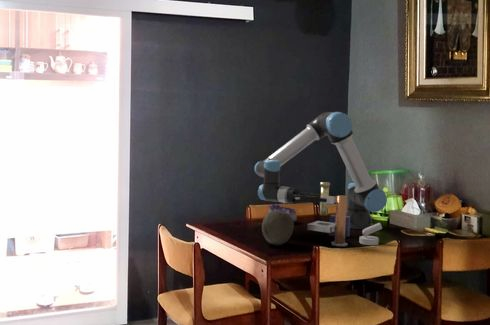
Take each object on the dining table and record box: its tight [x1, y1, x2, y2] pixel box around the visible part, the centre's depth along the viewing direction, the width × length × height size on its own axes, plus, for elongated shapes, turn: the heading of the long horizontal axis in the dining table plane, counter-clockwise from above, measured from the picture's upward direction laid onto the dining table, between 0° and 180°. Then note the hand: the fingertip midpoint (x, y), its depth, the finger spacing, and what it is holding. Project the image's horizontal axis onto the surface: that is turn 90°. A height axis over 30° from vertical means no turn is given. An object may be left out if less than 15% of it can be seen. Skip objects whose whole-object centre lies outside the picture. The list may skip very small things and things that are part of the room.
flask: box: [328, 213, 351, 238], centre depth 285 cm, size 10×3×12 cm, turn 74°
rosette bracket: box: [306, 195, 348, 248], centre depth 267 cm, size 17×11×22 cm, turn 58°
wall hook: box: [358, 222, 383, 246], centre depth 271 cm, size 9×10×10 cm
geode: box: [267, 202, 298, 223], centre depth 319 cm, size 20×12×10 cm, turn 34°
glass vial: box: [319, 181, 331, 216], centre depth 268 cm, size 4×4×14 cm
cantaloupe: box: [261, 211, 295, 247], centre depth 262 cm, size 14×14×15 cm
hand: (335, 200), depth 265 cm, fingers closed on glass vial, 3 cm apart
